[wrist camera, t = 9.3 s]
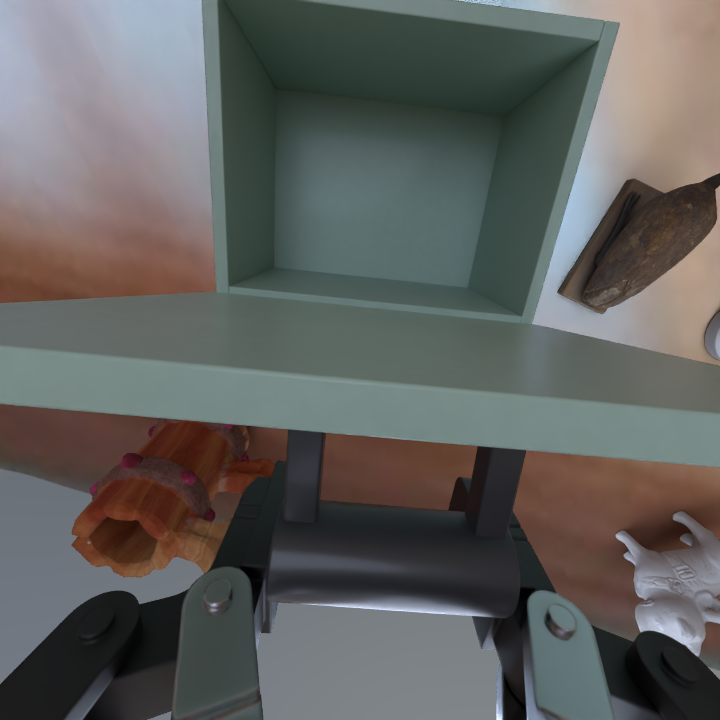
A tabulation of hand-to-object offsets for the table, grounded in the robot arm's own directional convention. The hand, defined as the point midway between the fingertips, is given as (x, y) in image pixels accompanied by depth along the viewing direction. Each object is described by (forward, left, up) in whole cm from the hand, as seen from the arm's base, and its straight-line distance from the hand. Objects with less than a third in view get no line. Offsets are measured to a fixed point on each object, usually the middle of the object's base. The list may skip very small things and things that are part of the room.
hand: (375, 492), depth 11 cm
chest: (-10, 0, -21) cm, 24 cm away
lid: (-5, 0, -2) cm, 6 cm away
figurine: (-10, +21, -22) cm, 32 cm away
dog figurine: (+23, +36, -22) cm, 48 cm away
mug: (+13, -12, -22) cm, 28 cm away
